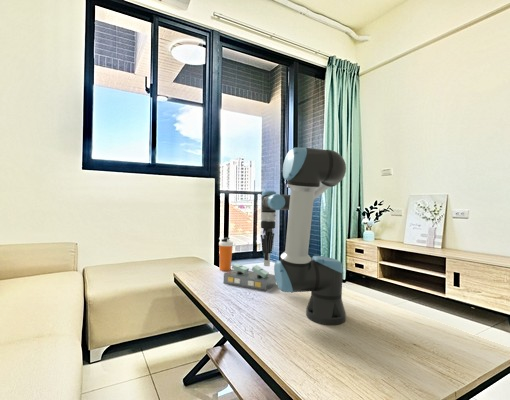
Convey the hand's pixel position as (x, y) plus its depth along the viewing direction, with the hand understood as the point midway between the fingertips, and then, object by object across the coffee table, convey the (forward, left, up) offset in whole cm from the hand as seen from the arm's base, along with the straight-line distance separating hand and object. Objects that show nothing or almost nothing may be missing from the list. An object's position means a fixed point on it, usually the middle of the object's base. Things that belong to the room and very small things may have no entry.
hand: (266, 265), depth 144 cm
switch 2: (0, +4, -4) cm, 5 cm away
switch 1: (0, +16, -4) cm, 16 cm away
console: (0, +10, -11) cm, 15 cm away
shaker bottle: (+18, +37, -11) cm, 43 cm away
